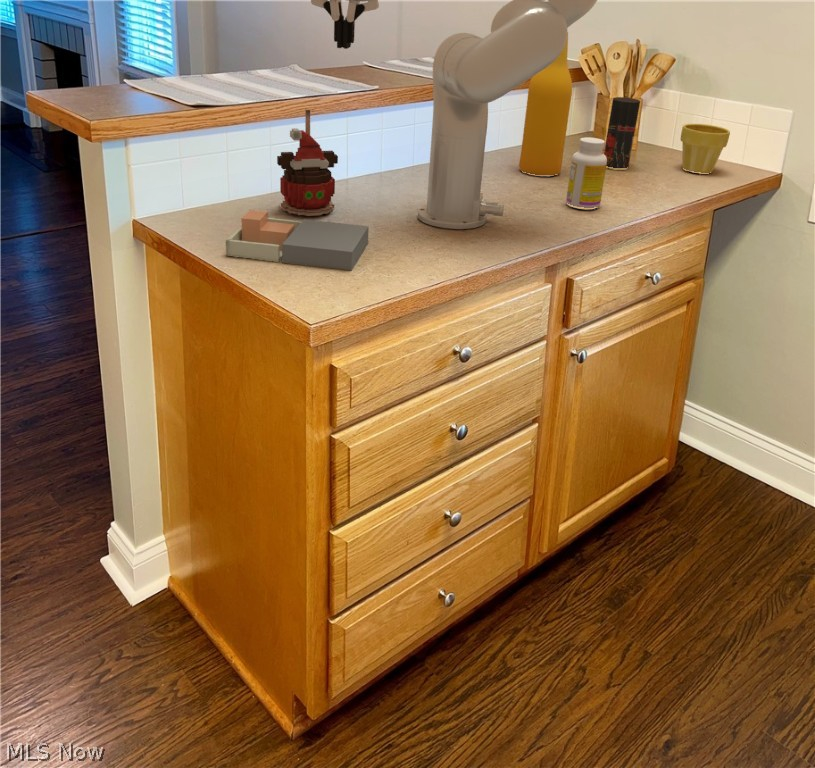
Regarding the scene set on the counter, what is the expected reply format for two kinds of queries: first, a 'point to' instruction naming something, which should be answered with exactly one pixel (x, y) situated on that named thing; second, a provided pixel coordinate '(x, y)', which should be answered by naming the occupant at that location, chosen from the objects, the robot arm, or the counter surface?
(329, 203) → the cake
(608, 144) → the deodorant
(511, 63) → the robot arm
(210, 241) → the counter surface
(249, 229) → the tile
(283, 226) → the tile
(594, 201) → the supplement bottle
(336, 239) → the slate board
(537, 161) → the beer bottle
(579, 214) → the counter surface
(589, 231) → the counter surface
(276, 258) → the sage bin
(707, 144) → the plant pot
